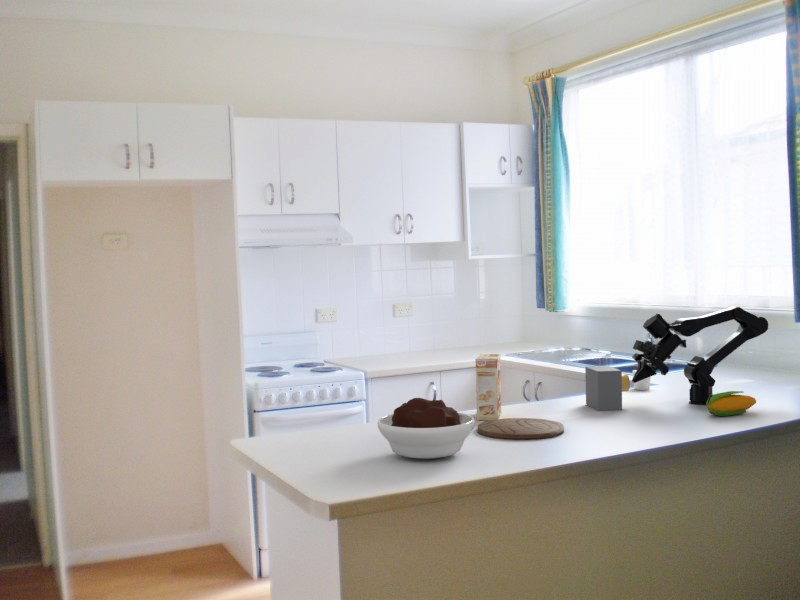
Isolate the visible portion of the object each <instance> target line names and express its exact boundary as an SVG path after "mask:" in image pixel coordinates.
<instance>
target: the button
mask: <svg viewBox="0 0 800 600" xmlns="http://www.w3.org/2000/svg"><path fill="white" fill-rule="evenodd" d="M630 381H631V380H630V377H629V375H628V374H627V373H622V393H623V392H629V390H630V385H631V383H630Z"/></svg>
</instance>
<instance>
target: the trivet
mask: <svg viewBox="0 0 800 600" xmlns="http://www.w3.org/2000/svg"><path fill="white" fill-rule="evenodd" d="M477 433H478V434H479V435H480V436H483V437H487V438H491V439H497V440H504V441H505V440H506V441H507V440H508V441H536V440H537V441H538V440H546V439H552V438H556V437H559V436H561V435H563V434H564V433H565V426H564V424H562V423H561V422H558V421H554V420H550V419H543V418H532V417H531V418H527V417H510V418H509V417H508V418H499V419H496V420H490V421H488V420H485V421H483V422H480V423H479V424H478V425H477Z"/></svg>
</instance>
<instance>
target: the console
mask: <svg viewBox="0 0 800 600" xmlns="http://www.w3.org/2000/svg"><path fill="white" fill-rule="evenodd" d="M584 370H585V405H586V404H587V405H586V406H588V405H589V406H588V407H591V408H592V409H593V410H595V411H597V412H602V411H603V412H605V411H623V392H622V374H623V372H622V370H620V369H618V368H615V367H612V366H609V365H597V366H596V365H595V366H585V367H584Z"/></svg>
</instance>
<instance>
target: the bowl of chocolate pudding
mask: <svg viewBox="0 0 800 600" xmlns="http://www.w3.org/2000/svg"><path fill="white" fill-rule="evenodd" d="M377 420H378V421H377V428H378V430H379V432H380V434H381V435H382V436H383V437H384V439H386V441H387V442H388V444H389V446H390V449H391V450H392V452H393V453H395V454H396V455H398V456H400V457H405V458H411V459H416V460H434V459H439V458H446V457H449V456H453V455H455V454H457V453H459V452H460V451H461V449H462V447H463V445H464V442H465V440H466V439H467V437H469V436H470V434H471V433H472V431H473V429H474V427H475V423H476V422H475V418H474V417H473V416H472V415H470V414H467V413H463V412H458V411H457V410H456V409H454V408H453V407H450V406H447V405H446V403H445V402H444V400H443V399H438V400H437V399H434V400H430V399H429V400H428V399H425V398H423V397H414V398H411V399H409V400H408V401H407V402H403V403H402V404H401V405H400V406H397V407H396V408H395V409H394V410H393V413H391V414H388V415H385V416H382V417H380V418H379V419H377Z"/></svg>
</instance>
